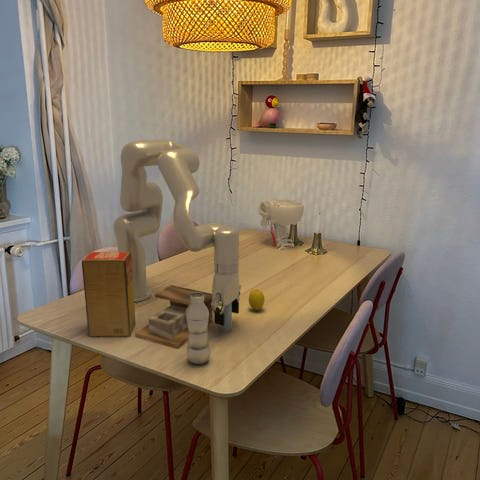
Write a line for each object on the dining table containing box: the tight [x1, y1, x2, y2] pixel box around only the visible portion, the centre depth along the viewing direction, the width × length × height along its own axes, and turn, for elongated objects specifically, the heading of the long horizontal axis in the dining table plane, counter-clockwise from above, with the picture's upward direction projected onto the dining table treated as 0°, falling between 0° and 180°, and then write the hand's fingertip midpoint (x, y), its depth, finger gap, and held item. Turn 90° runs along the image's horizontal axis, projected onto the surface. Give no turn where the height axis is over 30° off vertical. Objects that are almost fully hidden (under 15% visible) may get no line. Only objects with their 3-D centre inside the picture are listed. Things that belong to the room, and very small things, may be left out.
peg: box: [221, 302, 233, 333], centre depth 145 cm, size 3×3×12 cm
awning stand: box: [134, 284, 214, 349], centre depth 146 cm, size 20×17×10 cm
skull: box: [257, 198, 305, 251], centre depth 232 cm, size 25×19×23 cm
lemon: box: [248, 288, 266, 311], centre depth 160 cm, size 6×6×8 cm
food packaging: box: [81, 251, 136, 338], centre depth 143 cm, size 13×9×25 cm
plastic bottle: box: [185, 292, 211, 365], centre depth 126 cm, size 6×7×20 cm
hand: (227, 318), depth 145 cm, fingers open, 9 cm apart
